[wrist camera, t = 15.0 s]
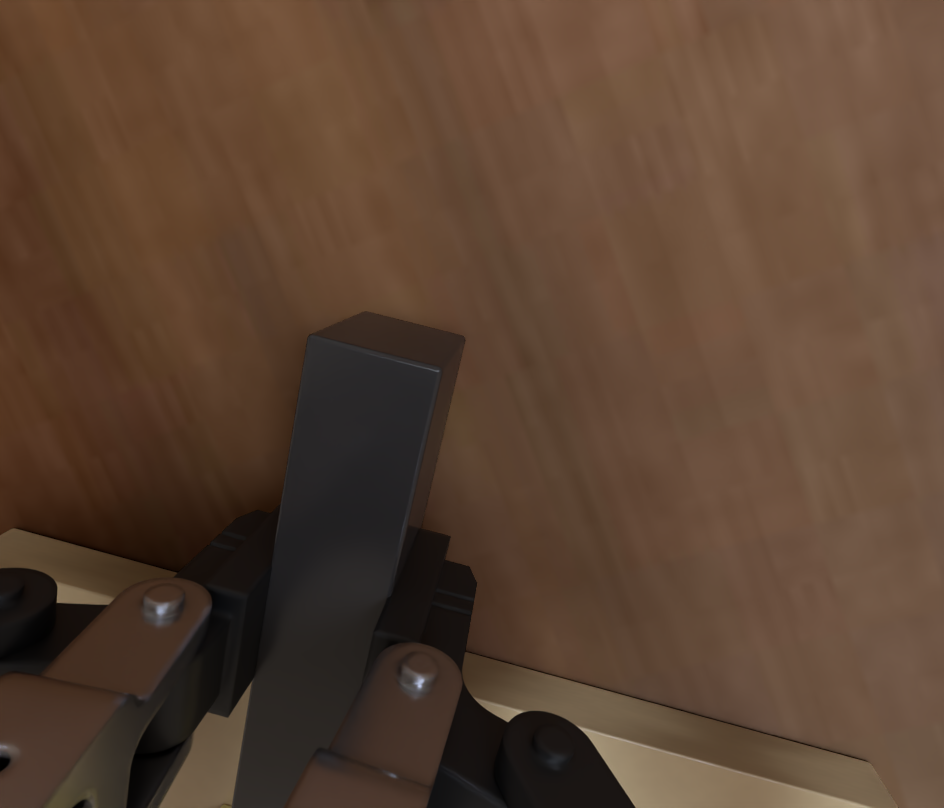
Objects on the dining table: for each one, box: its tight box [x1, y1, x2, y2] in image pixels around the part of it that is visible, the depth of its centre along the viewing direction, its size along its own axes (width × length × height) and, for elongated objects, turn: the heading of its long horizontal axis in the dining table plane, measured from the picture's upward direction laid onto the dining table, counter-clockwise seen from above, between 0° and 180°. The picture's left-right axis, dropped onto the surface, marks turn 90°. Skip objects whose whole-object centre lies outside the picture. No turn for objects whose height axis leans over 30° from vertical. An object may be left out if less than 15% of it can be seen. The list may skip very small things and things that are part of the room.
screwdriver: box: [231, 311, 465, 808], centre depth 13 cm, size 20×2×3 cm, turn 167°
